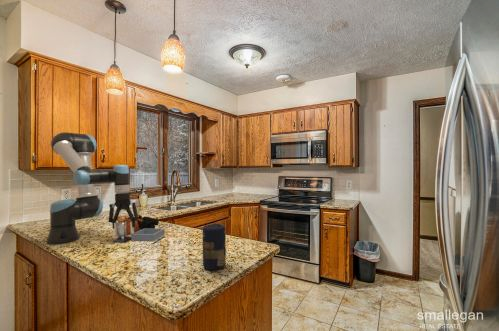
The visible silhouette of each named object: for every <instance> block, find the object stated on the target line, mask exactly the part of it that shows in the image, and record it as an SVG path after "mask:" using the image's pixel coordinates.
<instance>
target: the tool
mask: <svg viewBox="0 0 499 331" xmlns="http://www.w3.org/2000/svg"><path fill="white" fill-rule="evenodd" d="M138 217H139V219H138V220H136V221H135V227H134V233H135V232H138V231H140V230H142V229H156V226H159V222H160V221H159V219H158V218H152V217H151V216H150V217H149V216H145V215H144V216H142V215H141V214H138ZM130 222H131V219H130V217H129V216H128V217H127V220H126V237H128V236H130V235H131V228H130Z"/></svg>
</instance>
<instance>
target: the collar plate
mask: <svg viewBox="0 0 499 331" xmlns="http://www.w3.org/2000/svg"><path fill="white" fill-rule="evenodd" d="M130 241H131V236H126V239H124V240H118V237H116V238H114V239H112V240H111V241H108V242H107V243H108V244H111V243H113V244H126V243H128V242H130Z"/></svg>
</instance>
